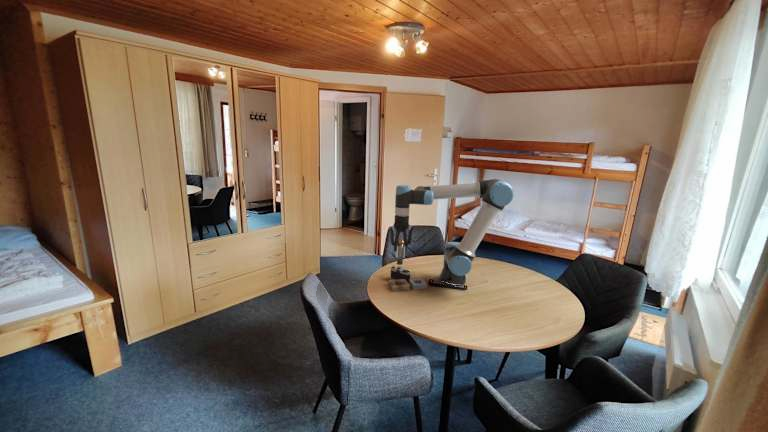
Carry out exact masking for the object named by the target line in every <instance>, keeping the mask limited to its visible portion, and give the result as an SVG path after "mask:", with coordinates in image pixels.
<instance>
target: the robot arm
mask: <svg viewBox="0 0 768 432" xmlns="http://www.w3.org/2000/svg"><path fill="white" fill-rule="evenodd" d="M514 196H515V192H514V189H513V187H512V186H511V184H509V183H508V182H506V181H503V180H500V179H497V178H493V179H491V178H490V179H486V180H477V181H475V182H471V183H460V184H459V183H458V184H446V185H445V184H444V185H429V186H427V185H426V186H423V185H419V186H417V187H415V189H411V185H406V184H405V185H404V184H401V185H397V186H396V188H395V201H394V204H395V206H394V208H395V209H394V214H395V215H394V223H393V225H391V226H388V229H389V235H390V245H391V246H393V251H394V253H395V255H394V257H395V258H396V259H397V258H398V240H400V238H399V237H400V235H401V233H402V238H403V239H402V240H404V245H403V259H404V258H406V252H407V251H408V247H409V245H411V244H412V243H411V242H412V237H413V235H412V234H413V230H414V229H415V228H414V226H413V225H410V222H409V221H410V205H421V206H422V205H423V206H428V205H429V206H430V205H431V206H432V205H433V203H434V200H445V199H460V198H461V199H463V198H477V199H481V201H480V202H481V204H482V205H481V206H480V207H479V210H478V211H477V212H476V213H477V214H476V215H475V217H474V219H473V220H472V221H471V224H470V225H469V228H468V229H467V230H466V232H465V234H464V236H463V238H462V239H461V241H460V242H458V241H449V242H446V243H444V245H445V246H444V256H443V257H444V258H443V268H442V269H441V271H440V274H439V281H440V280H441V281H444V282H448V283H453V284H462V285H461V286H463V285H465V284H466V283H467V282H466V280H467V278H466V275H467V274H469V273H470V272H471V270H472V268H473V267H472V266H473V265H472V262H473V261H474V259H475V257H476V254H475V253H476V250H477V248H478V246H479V245H480V243H481V242H482V240H483V239H484V236H485V235H486V233H487V232H488V230H489V228H490V226H491V224H492V223H493V221H494V220H495V218H496V216H497V215H498V213H501V212H503V210H504V208H505V206H508V205H509V204H511V202H512V201H513V199H514V198H515V197H514ZM394 230H395V233H394ZM407 230H408V233H407ZM394 235H395V236H394ZM441 281H440V282H441Z"/></svg>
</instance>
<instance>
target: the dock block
mask: <svg viewBox="0 0 768 432" xmlns="http://www.w3.org/2000/svg"><path fill="white" fill-rule="evenodd" d="M387 285H388V287H389V288H390V290H391V293H396V292H410V291H411V286H410V284H408V282H407V281H406V279H397V280H393V279H388V280H387Z"/></svg>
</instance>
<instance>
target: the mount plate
mask: <svg viewBox="0 0 768 432" xmlns="http://www.w3.org/2000/svg"><path fill="white" fill-rule="evenodd" d="M409 285H410V288H411V289H412V290H424V289H426V290H427V289H428V284H427V282H426V281H425V280H424V278H410V279H409Z"/></svg>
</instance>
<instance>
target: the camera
mask: <svg viewBox="0 0 768 432" xmlns="http://www.w3.org/2000/svg"><path fill="white" fill-rule="evenodd" d="M411 275H412V273H411V271H410V270H408V269H406V268H405V267H403V266H401V265H398V266H397V267H396V266H394V265H392V266H391V267H390V280H397V279H406V281H407V282H408V284H409V279H411ZM409 285H410V284H409Z"/></svg>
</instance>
